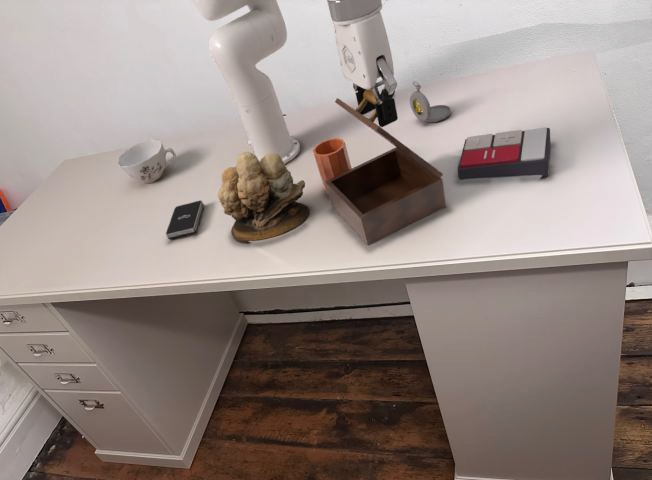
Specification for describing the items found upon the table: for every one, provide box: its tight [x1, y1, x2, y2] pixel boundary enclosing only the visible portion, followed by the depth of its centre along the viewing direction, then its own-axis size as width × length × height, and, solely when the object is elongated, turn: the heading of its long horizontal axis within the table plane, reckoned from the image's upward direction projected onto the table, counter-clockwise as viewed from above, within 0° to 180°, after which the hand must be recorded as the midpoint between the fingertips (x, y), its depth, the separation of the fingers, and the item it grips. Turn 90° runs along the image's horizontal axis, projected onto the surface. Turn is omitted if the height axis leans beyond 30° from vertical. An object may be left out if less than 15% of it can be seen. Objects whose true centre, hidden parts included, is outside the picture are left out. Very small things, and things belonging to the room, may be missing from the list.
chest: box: [325, 147, 447, 246], centre depth 97 cm, size 16×16×7 cm
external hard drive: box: [165, 199, 205, 241], centre depth 118 cm, size 7×11×2 cm, turn 176°
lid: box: [334, 89, 444, 178], centre depth 90 cm, size 17×16×5 cm
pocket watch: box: [409, 81, 452, 123], centre depth 116 cm, size 8×8×10 cm
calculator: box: [457, 127, 551, 180], centre depth 97 cm, size 11×4×15 cm
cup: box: [312, 137, 353, 194], centre depth 107 cm, size 6×6×10 cm
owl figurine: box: [217, 151, 310, 245], centre depth 103 cm, size 18×12×17 cm, turn 89°
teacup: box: [117, 139, 176, 184], centre depth 140 cm, size 15×12×8 cm
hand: (378, 116), depth 88 cm, fingers closed on lid, 6 cm apart
